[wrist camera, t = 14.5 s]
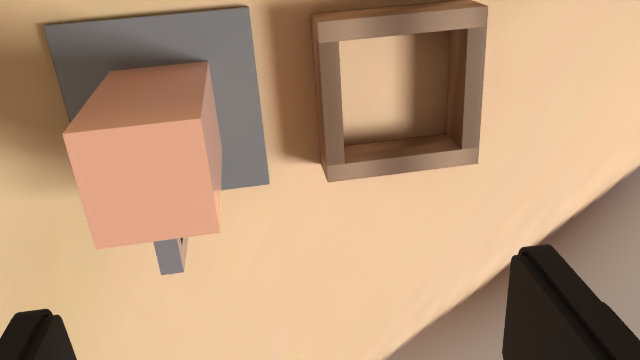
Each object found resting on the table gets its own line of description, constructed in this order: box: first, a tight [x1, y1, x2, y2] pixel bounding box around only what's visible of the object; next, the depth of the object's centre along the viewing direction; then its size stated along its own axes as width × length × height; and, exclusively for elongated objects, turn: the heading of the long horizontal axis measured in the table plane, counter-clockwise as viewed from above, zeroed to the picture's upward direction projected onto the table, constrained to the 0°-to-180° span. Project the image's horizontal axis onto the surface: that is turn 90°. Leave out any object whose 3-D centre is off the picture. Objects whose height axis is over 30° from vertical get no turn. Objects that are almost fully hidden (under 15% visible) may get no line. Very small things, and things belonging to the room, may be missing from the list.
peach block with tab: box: [62, 61, 222, 275], centre depth 31 cm, size 6×9×11 cm, turn 4°
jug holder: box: [310, 0, 488, 182], centre depth 36 cm, size 10×10×3 cm
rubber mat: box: [44, 7, 269, 190], centre depth 36 cm, size 12×12×1 cm
